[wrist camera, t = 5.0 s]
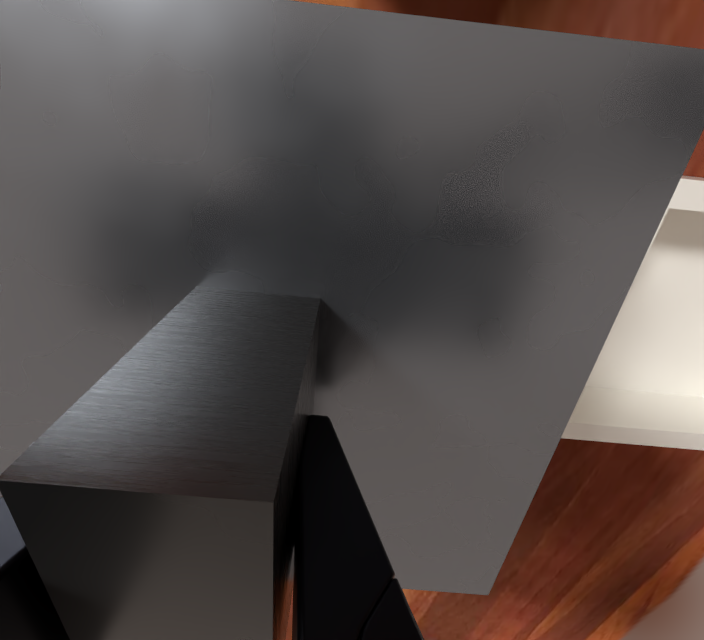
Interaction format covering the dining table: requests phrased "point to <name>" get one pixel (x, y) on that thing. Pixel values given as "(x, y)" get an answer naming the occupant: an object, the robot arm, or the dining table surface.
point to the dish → (655, 343)
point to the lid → (303, 284)
